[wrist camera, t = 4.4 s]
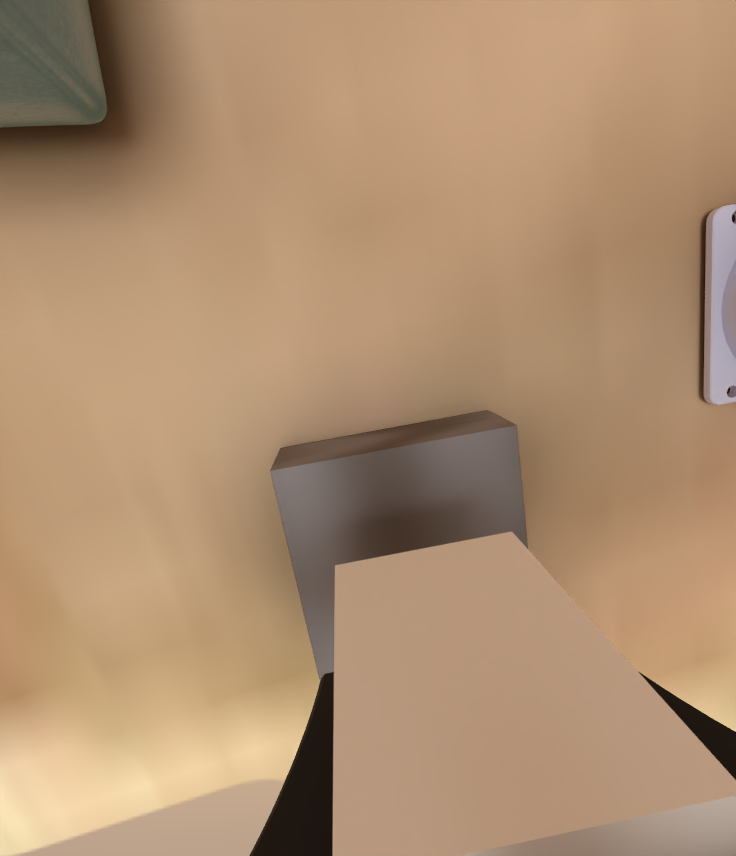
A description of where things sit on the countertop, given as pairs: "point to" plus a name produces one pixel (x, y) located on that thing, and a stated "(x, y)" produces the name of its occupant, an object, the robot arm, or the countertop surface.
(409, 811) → the cream block
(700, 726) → the robot arm
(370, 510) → the charcoal plinth
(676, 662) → the countertop surface
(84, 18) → the flower pot
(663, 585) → the countertop surface
